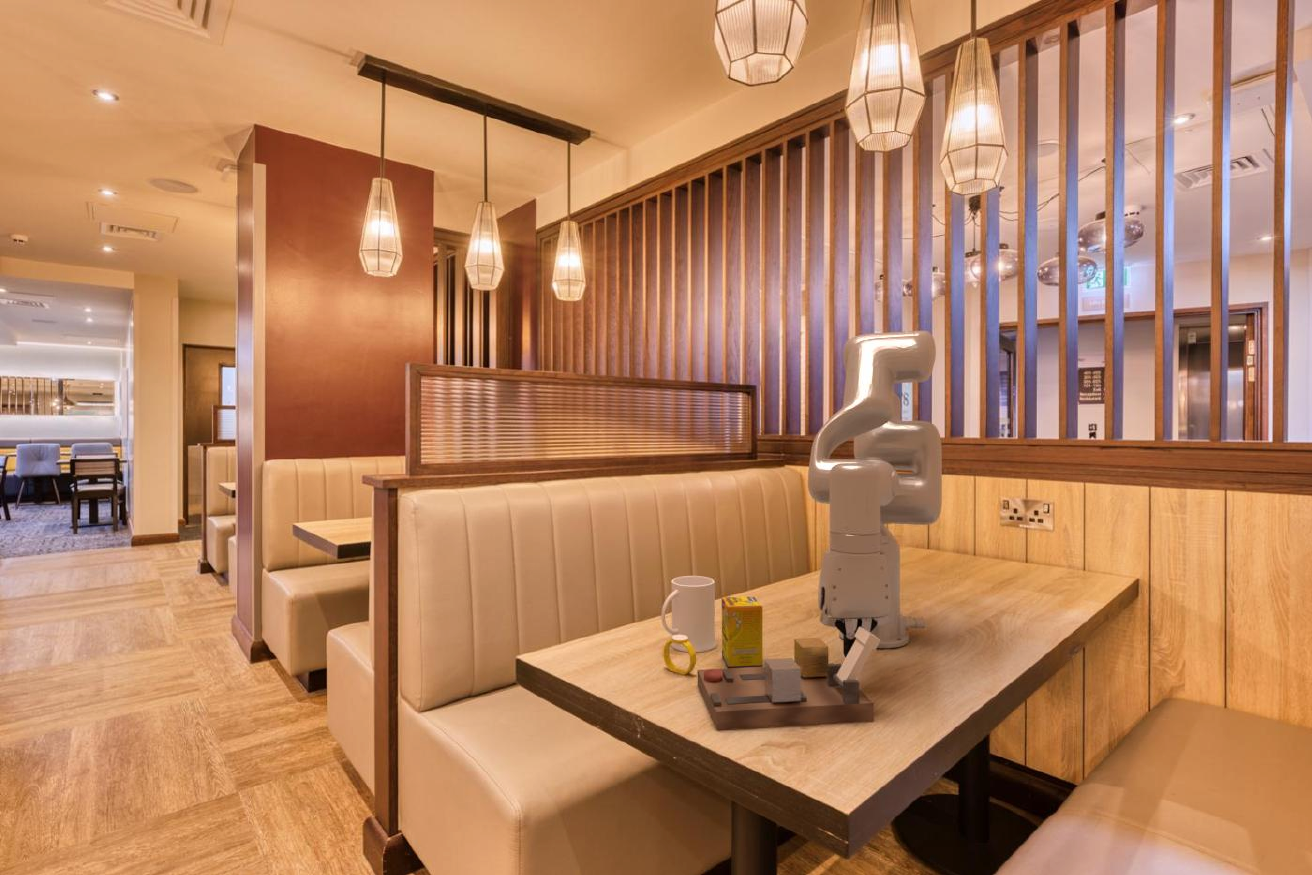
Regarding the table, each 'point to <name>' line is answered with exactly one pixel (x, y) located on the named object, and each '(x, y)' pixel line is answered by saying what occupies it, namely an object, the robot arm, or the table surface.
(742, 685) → the console
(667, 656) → the watch
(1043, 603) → the table surface
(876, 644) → the pale pink t-block
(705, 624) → the mug
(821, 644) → the brass knob
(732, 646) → the supplement box
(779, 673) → the grey knob
